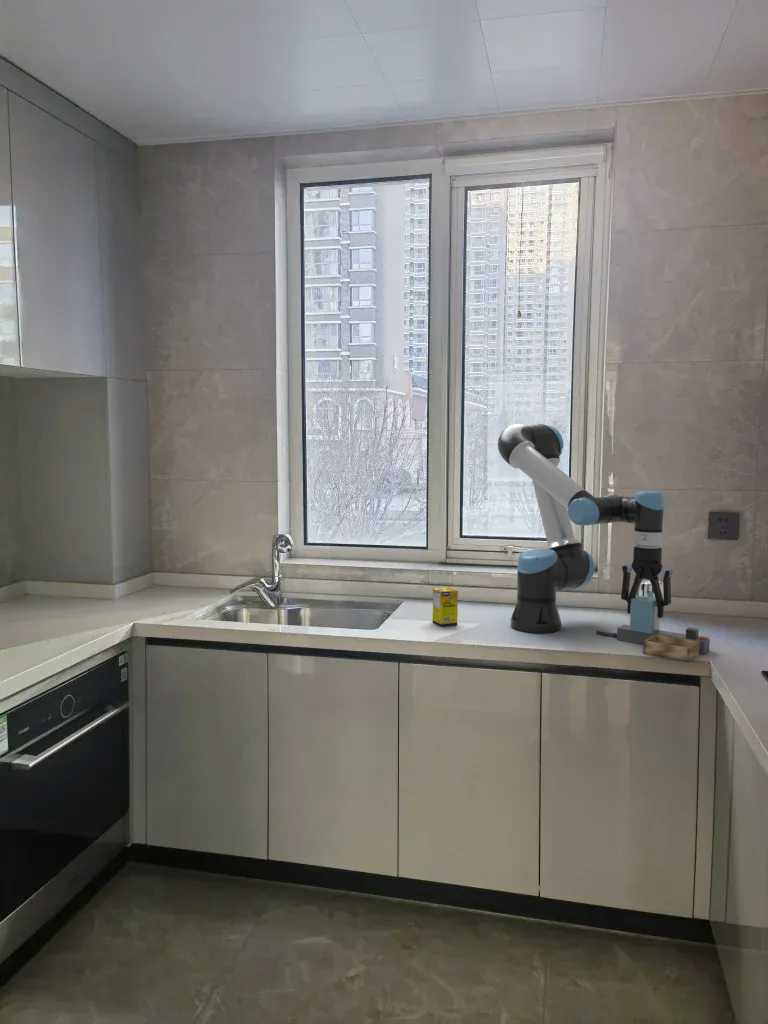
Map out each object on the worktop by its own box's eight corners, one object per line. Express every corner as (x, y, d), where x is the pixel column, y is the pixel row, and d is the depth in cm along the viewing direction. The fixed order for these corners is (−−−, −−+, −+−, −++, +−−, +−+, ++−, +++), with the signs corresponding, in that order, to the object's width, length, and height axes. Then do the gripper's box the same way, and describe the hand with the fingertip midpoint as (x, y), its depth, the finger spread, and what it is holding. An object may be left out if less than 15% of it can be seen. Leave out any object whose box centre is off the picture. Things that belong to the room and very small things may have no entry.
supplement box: (457, 625, 237) (458, 590, 235) (440, 626, 234) (440, 591, 233) (449, 620, 242) (449, 586, 241) (432, 622, 240) (432, 588, 239)
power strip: (592, 635, 225) (592, 615, 224) (598, 632, 228) (599, 612, 228) (703, 654, 205) (704, 633, 205) (709, 650, 209) (710, 629, 208)
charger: (629, 639, 217) (631, 598, 216) (637, 635, 222) (639, 595, 221) (651, 642, 213) (652, 601, 212) (658, 638, 218) (660, 598, 217)
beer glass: (632, 629, 232) (634, 580, 230) (651, 627, 234) (653, 579, 233) (648, 635, 225) (650, 585, 224) (667, 633, 228) (669, 583, 226)
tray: (643, 653, 206) (643, 641, 205) (654, 646, 213) (655, 634, 212) (689, 662, 198) (689, 648, 198) (699, 654, 205) (700, 641, 205)
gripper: (609, 544, 218) (607, 624, 220) (678, 551, 206) (674, 635, 208) (619, 541, 224) (617, 619, 226) (686, 547, 212) (683, 629, 214)
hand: (644, 626), depth 217 cm, fingers closed on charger, 6 cm apart
